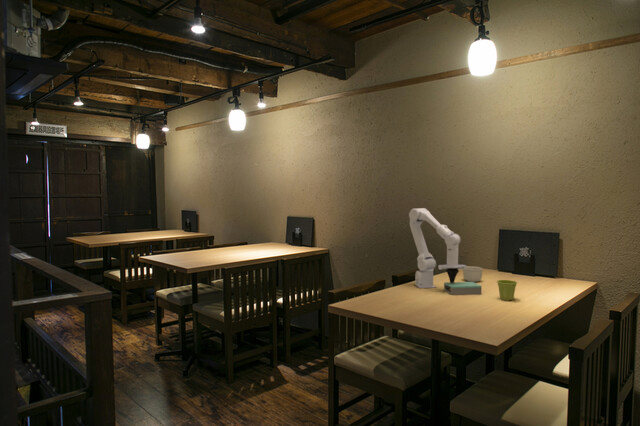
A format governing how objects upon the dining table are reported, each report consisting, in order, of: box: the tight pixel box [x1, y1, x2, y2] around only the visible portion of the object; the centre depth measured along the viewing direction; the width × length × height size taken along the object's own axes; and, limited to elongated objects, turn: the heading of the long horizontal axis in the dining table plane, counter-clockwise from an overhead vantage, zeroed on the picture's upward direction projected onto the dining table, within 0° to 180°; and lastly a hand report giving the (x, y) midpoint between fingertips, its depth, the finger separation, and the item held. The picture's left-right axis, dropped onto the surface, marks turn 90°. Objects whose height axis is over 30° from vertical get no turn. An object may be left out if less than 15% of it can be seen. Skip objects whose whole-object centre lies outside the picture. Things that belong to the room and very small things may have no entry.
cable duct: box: [443, 283, 483, 296], centre depth 224 cm, size 16×10×4 cm, turn 96°
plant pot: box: [496, 279, 518, 301], centre depth 211 cm, size 9×9×9 cm
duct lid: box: [443, 281, 482, 288], centre depth 224 cm, size 16×10×1 cm, turn 96°
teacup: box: [462, 265, 483, 283], centre depth 252 cm, size 14×11×8 cm
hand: (451, 282), depth 225 cm, fingers closed
